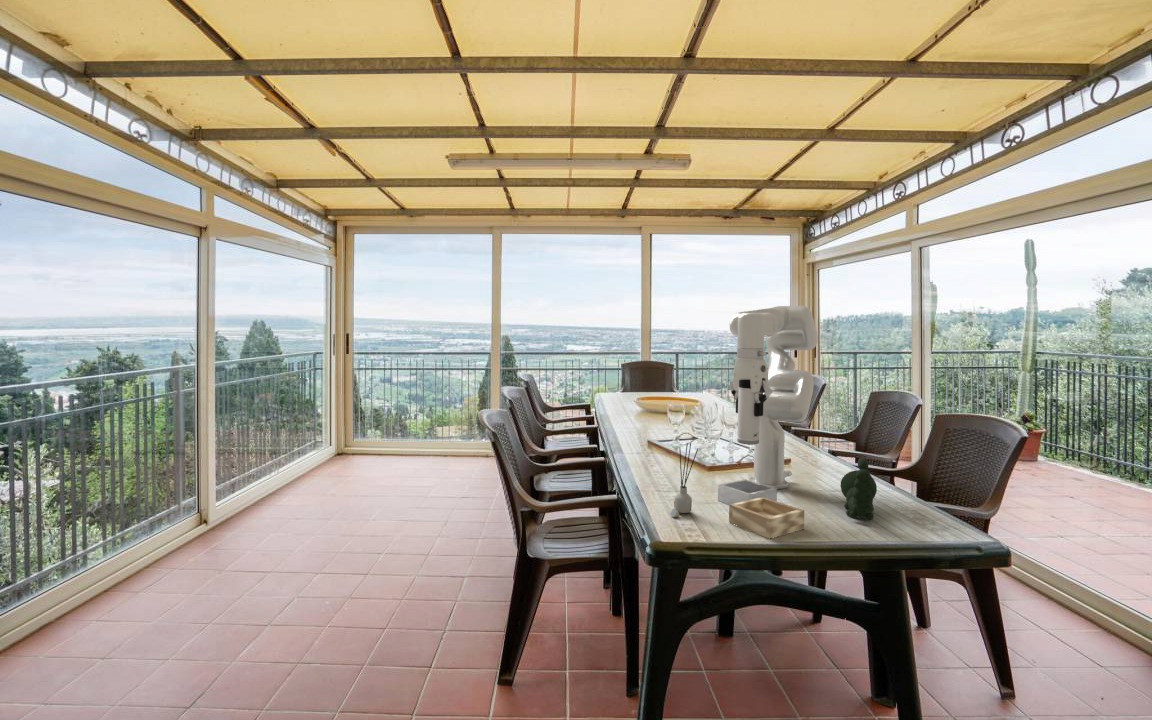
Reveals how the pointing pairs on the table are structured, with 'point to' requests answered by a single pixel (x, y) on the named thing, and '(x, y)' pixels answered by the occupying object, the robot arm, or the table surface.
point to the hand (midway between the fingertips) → (749, 413)
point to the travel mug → (747, 415)
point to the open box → (744, 491)
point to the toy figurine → (859, 491)
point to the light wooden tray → (766, 517)
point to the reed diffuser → (683, 492)
